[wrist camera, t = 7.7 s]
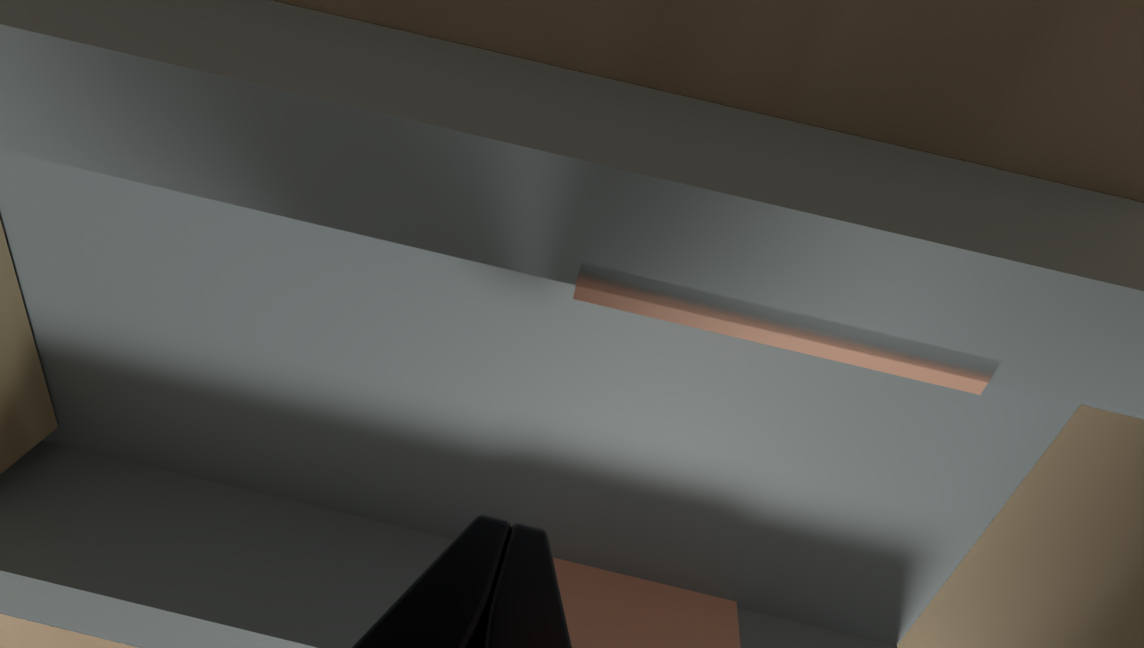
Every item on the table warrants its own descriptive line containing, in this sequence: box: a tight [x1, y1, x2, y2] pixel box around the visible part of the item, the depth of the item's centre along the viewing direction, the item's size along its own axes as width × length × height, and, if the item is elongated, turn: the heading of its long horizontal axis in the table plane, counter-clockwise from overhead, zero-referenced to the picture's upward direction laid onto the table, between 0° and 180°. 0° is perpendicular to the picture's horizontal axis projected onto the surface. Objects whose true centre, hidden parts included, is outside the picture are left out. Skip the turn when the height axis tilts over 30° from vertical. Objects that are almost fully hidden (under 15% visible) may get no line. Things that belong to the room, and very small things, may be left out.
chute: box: [0, 0, 1144, 648], centre depth 10 cm, size 20×9×4 cm, turn 79°
